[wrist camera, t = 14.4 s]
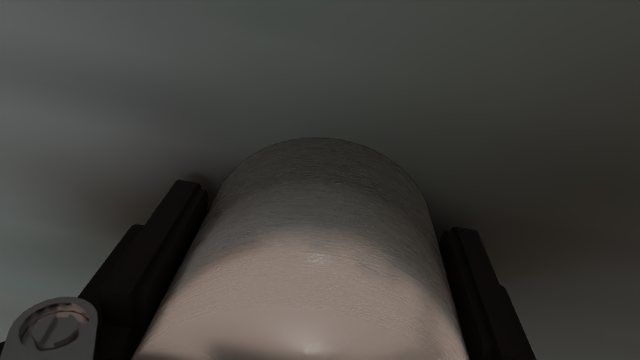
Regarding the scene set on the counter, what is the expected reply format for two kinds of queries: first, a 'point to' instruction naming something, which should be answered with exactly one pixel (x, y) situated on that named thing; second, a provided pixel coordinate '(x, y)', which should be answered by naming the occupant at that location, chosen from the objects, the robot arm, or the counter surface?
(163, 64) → the counter surface
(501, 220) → the counter surface
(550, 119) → the counter surface
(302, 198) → the cylinder
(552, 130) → the counter surface
